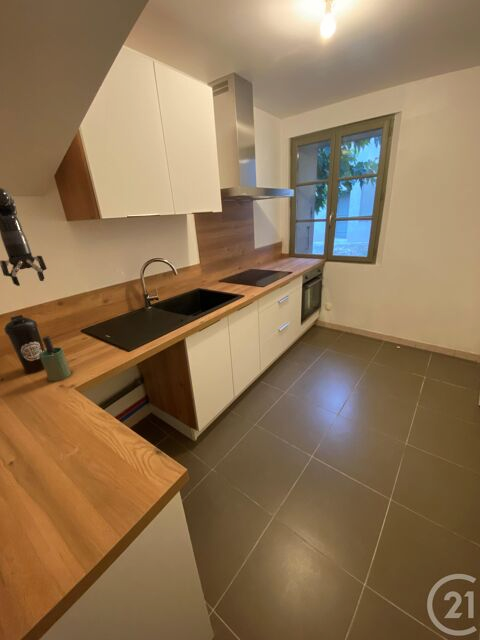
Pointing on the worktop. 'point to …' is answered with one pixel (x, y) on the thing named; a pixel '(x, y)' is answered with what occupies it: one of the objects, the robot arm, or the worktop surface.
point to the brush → (48, 345)
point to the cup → (55, 364)
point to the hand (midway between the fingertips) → (30, 283)
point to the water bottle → (26, 342)
